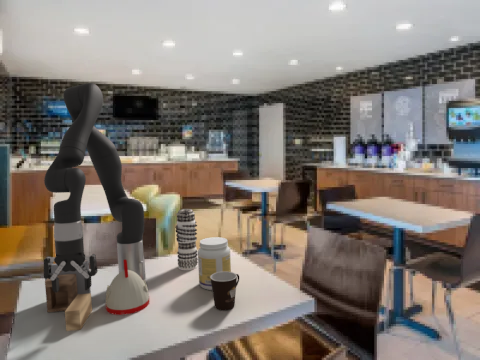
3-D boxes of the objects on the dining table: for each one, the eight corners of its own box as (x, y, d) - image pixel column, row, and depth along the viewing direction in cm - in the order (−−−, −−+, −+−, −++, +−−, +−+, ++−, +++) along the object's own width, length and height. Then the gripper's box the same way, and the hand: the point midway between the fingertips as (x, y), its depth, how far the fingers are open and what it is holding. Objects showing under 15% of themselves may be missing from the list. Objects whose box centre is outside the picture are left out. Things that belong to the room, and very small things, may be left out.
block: (78, 303, 121) (76, 273, 120) (73, 309, 116) (71, 279, 115) (53, 305, 120) (50, 275, 119) (47, 312, 115) (44, 281, 114)
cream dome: (147, 293, 128) (145, 252, 127) (151, 310, 115) (149, 264, 114) (105, 300, 123) (103, 258, 122) (105, 318, 110) (102, 271, 109)
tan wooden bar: (92, 311, 116) (90, 293, 115) (80, 330, 104) (79, 310, 103) (79, 312, 115) (77, 294, 115) (66, 331, 103) (64, 311, 103)
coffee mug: (218, 314, 111) (216, 283, 110) (207, 303, 118) (206, 274, 117) (250, 305, 116) (250, 276, 115) (238, 296, 124) (237, 268, 123)
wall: (91, 297, 126) (88, 261, 125) (89, 298, 125) (87, 262, 123) (48, 300, 124) (45, 264, 123) (47, 302, 123) (43, 265, 121)
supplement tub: (223, 276, 143) (222, 234, 141) (236, 287, 132) (235, 242, 130) (194, 282, 137) (192, 239, 136) (205, 293, 126) (203, 247, 125)
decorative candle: (202, 264, 157) (200, 208, 155) (192, 271, 149) (189, 212, 146) (184, 262, 161) (181, 207, 158) (173, 269, 152) (170, 211, 149)
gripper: (97, 232, 109) (100, 284, 110) (48, 234, 107) (51, 287, 108) (90, 238, 101) (94, 294, 103) (37, 241, 99) (41, 297, 101)
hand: (72, 290), depth 105 cm, fingers open, 8 cm apart
